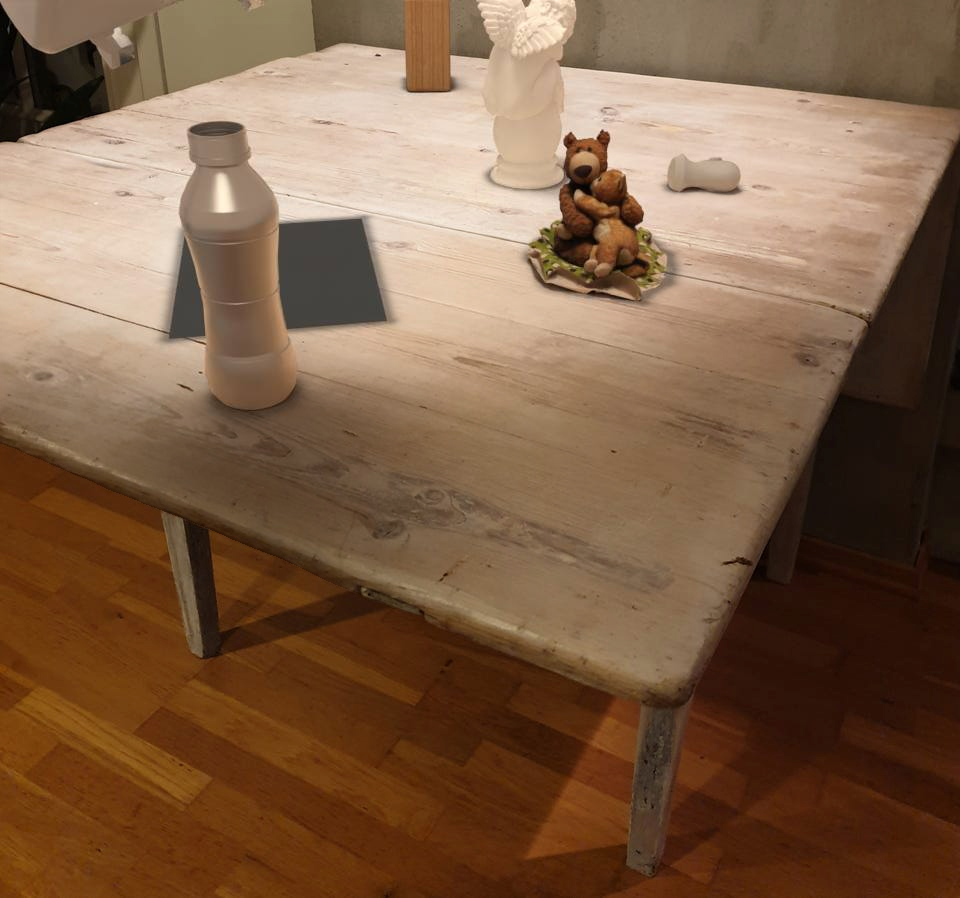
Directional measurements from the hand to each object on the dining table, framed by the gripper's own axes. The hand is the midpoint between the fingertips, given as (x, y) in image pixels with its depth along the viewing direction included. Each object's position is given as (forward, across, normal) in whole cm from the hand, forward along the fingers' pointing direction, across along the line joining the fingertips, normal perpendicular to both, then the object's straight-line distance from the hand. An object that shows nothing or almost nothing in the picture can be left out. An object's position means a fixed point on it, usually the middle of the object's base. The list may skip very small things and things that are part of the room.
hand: (184, 27), depth 60 cm
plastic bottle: (+18, +6, +18) cm, 26 cm away
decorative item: (+71, -57, -22) cm, 94 cm away
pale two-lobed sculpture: (+34, -54, +20) cm, 67 cm away
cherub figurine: (+40, -40, +8) cm, 57 cm away
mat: (+32, -6, +6) cm, 33 cm away
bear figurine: (+25, -30, +23) cm, 45 cm away
